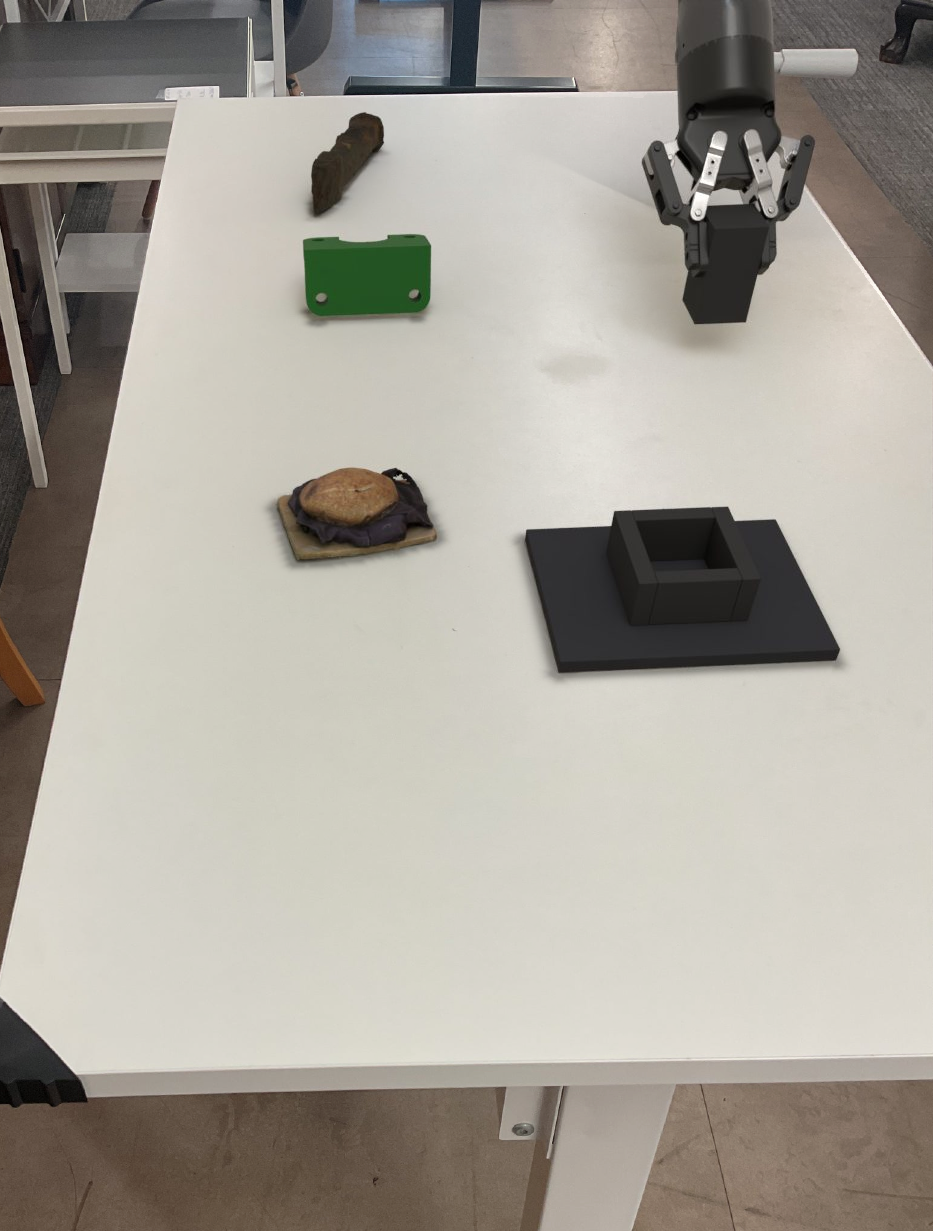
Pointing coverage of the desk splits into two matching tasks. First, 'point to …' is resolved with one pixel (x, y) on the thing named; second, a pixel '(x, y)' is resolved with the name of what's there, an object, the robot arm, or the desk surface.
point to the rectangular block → (727, 265)
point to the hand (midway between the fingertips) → (731, 271)
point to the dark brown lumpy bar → (344, 159)
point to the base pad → (675, 593)
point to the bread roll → (355, 514)
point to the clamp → (367, 275)
